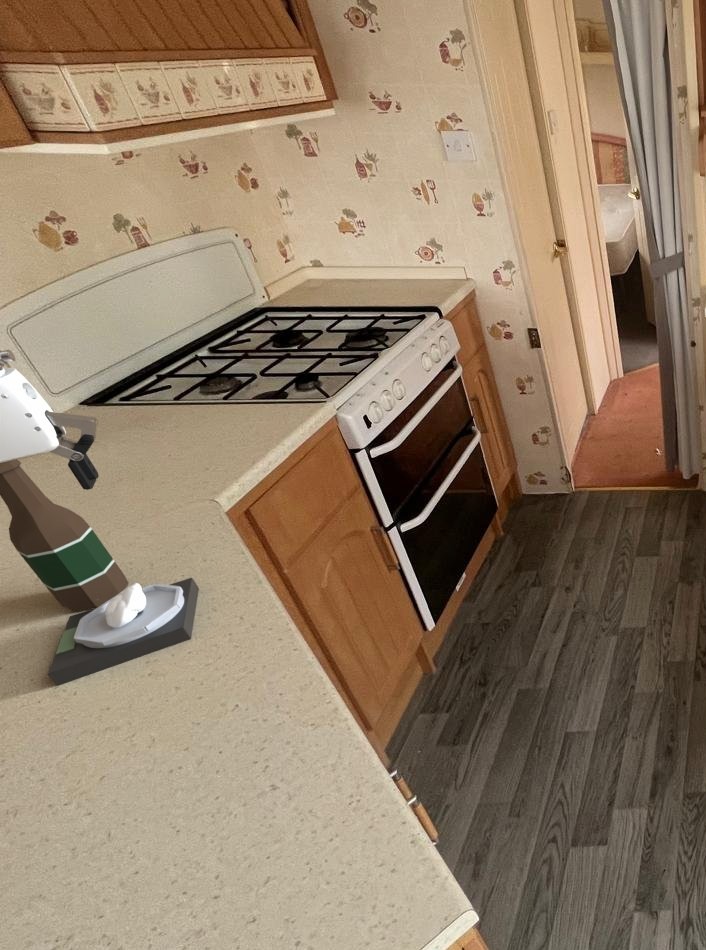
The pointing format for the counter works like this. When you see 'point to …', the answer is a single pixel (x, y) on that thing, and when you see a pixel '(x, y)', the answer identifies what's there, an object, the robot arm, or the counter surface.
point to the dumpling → (125, 606)
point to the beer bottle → (58, 544)
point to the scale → (125, 632)
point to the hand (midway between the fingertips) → (39, 497)
